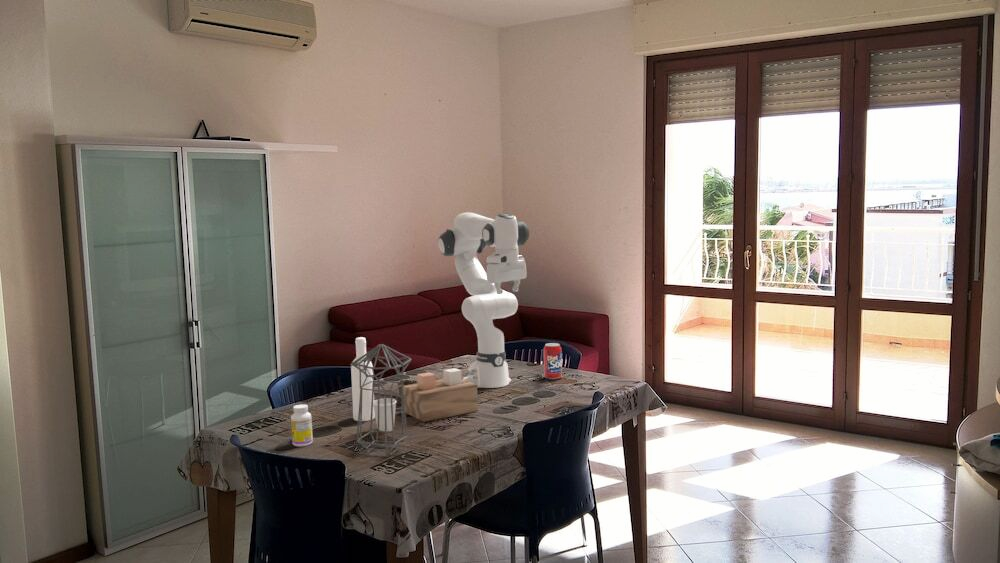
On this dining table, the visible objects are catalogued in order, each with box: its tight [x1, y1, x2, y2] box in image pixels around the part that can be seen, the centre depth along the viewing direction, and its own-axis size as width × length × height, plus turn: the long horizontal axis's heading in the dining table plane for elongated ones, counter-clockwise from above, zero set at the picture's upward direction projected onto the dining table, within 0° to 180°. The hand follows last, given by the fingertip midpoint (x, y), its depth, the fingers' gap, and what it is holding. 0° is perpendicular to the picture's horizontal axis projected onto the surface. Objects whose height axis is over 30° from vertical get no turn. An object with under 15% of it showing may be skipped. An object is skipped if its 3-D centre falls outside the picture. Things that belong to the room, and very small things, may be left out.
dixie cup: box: [373, 397, 398, 432], centre depth 270 cm, size 8×8×10 cm
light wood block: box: [403, 378, 479, 423], centre depth 290 cm, size 16×23×10 cm
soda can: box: [543, 342, 563, 381], centre depth 337 cm, size 8×8×15 cm
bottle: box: [350, 336, 376, 422], centre depth 282 cm, size 8×8×30 cm
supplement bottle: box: [290, 403, 314, 448], centre depth 256 cm, size 7×7×13 cm
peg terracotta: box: [416, 371, 437, 390], centre depth 286 cm, size 5×5×9 cm
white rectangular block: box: [442, 367, 463, 386], centre depth 292 cm, size 5×5×9 cm
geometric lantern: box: [349, 343, 412, 458], centre depth 244 cm, size 16×16×35 cm
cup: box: [397, 379, 418, 397], centre depth 305 cm, size 8×7×8 cm
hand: (507, 292), depth 295 cm, fingers open, 8 cm apart
